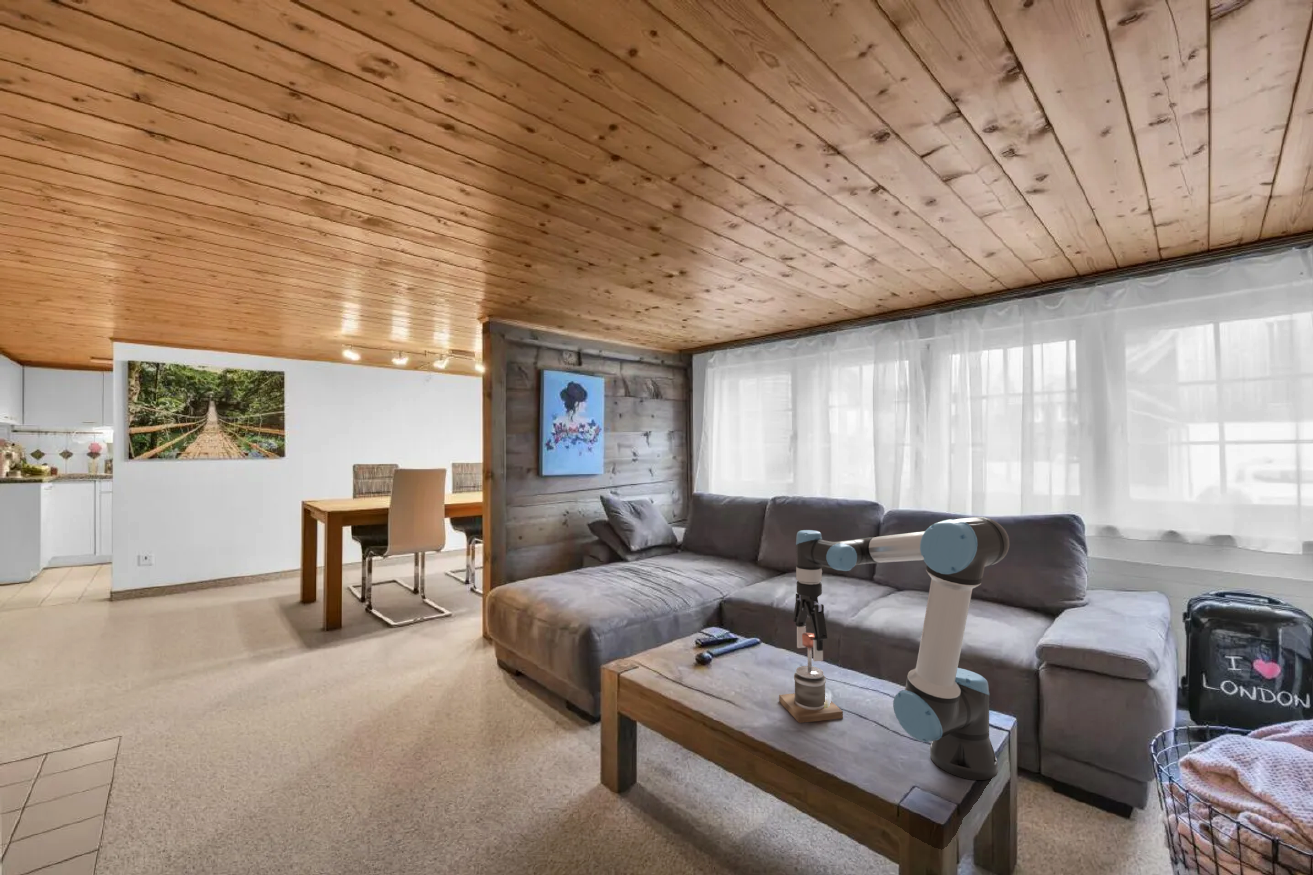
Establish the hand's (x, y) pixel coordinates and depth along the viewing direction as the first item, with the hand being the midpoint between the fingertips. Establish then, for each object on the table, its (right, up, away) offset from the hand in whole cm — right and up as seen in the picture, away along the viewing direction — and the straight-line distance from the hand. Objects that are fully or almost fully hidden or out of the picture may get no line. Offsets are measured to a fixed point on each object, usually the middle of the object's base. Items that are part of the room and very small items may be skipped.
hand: (809, 653), depth 170 cm
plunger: (0, -6, 0) cm, 6 cm away
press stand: (0, -17, 0) cm, 17 cm away
